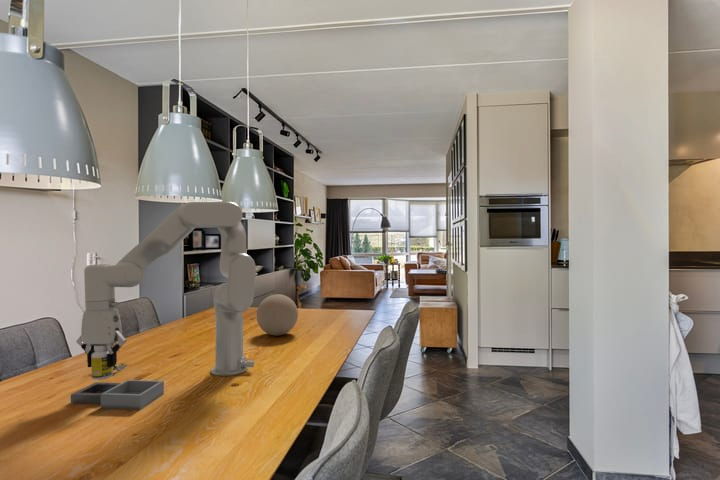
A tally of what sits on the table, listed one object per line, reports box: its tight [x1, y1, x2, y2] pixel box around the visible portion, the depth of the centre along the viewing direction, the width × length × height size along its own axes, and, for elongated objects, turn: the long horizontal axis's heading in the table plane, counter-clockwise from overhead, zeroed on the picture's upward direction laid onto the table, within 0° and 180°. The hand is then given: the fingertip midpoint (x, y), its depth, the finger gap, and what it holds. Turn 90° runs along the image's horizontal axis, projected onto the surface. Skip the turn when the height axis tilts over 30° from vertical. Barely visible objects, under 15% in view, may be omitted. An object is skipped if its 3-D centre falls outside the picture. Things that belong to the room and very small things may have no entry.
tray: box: [100, 379, 165, 411], centre depth 119 cm, size 12×12×4 cm
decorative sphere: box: [256, 293, 299, 337], centre depth 201 cm, size 20×20×20 cm
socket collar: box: [70, 381, 122, 405], centre depth 122 cm, size 10×10×2 cm
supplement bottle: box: [90, 345, 114, 381], centre depth 122 cm, size 5×5×10 cm
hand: (102, 365), depth 122 cm, fingers closed on supplement bottle, 5 cm apart
